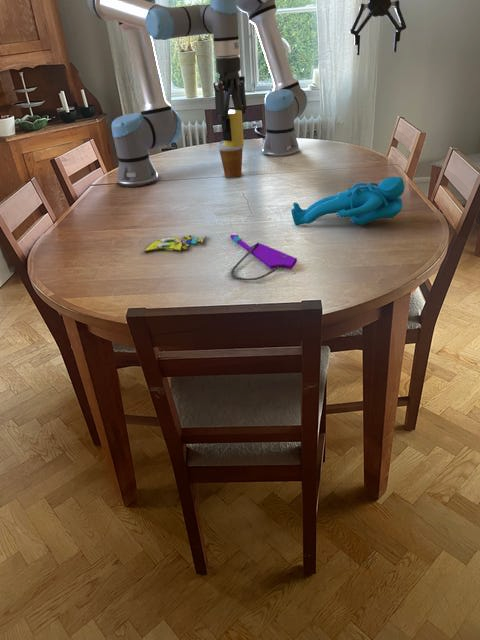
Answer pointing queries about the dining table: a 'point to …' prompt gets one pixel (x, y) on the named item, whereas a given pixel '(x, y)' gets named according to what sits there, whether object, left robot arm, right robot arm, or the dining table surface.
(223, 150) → the disposable coffee cup
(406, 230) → the dining table surface
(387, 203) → the toy
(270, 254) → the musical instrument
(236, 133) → the can
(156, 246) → the toy
